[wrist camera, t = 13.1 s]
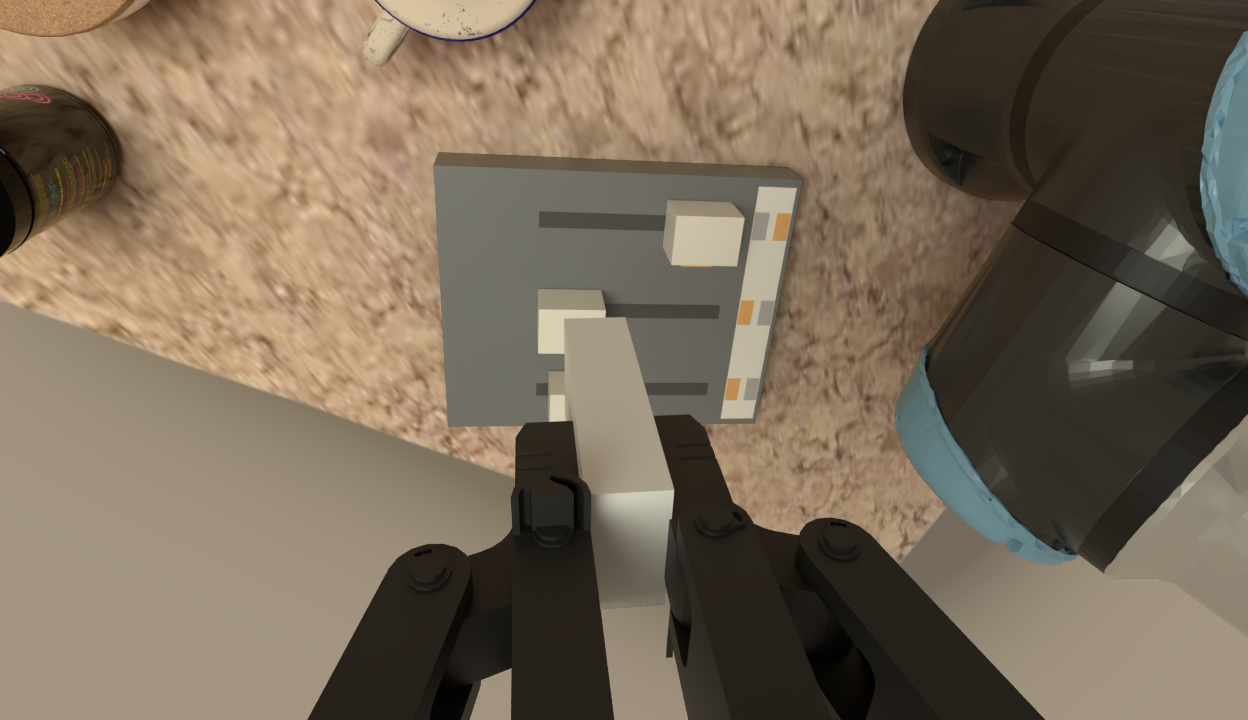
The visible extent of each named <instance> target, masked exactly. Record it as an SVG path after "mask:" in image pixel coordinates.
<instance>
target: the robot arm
mask: <svg viewBox="0 0 1248 720" xmlns="http://www.w3.org/2000/svg"><path fill="white" fill-rule="evenodd" d="M903 105H904V117H905V124H906V128H907V132H908V135H909V139H910V141H911V144H912V146H913V148H914V150H915V152H916V154H917V155H918V157H919V158H920V160H921V161H922V162H923V164H924V165H925V166H926V167H927V168H928V169H929V170H930V171H931V172H932V173H933V174H934V175H935V176H937V177H938V178H940V179H941V180H943V181H944V182H946V183H948V184H950V185H952V186H954V187H955V188H957V189H959V190H961V191H963V192H965V193H967V194H970V195H973V196H976V197H980V198H984V199H990V200H999V201H1019V200H1026V202H1025V203H1024V205H1023V206H1022V208H1021V209H1020V211H1019V212H1018V214H1017V216H1016V217H1015V219H1014V220H1013V221H1012V223H1010V225H1009V226H1008V228H1007V229H1006V231H1005V232H1004V234H1003V235H1002V237H1001V238H1000V240H999V241H998V243H997V244H996V246H995V247H994V249H993V250H992V252H991V253H990V255H989V257H988V258H987V260H986V261H985V263H984V264H983V266H982V267H981V269H980V270H979V272H978V273H977V275H976V276H975V278H974V279H973V281H972V282H971V284H970V285H969V287H968V288H967V290H966V291H965V293H964V294H963V296H962V298H961V299H960V300H959V302H958V303H957V305H956V306H955V308H954V309H953V311H952V312H951V314H950V315H949V316H948V318H947V319H946V321H945V322H944V324H943V325H942V327H941V328H940V329H939V331H938V332H937V334H936V335H935V337H934V338H933V339H931V340H930V341H929V342H928V343H927V344H926V345H925V346H924V348H923V349H922V351H921V354H920V357H919V362H918V364H917V366H916V368H915V370H914V372H913V373H912V375H911V377H910V378H909V380H908V382H907V383H906V385H905V387H904V388H903V390H902V392H901V393H900V395H899V397H898V400H897V403H896V407H895V423H896V429H897V431H898V433H899V440H900V443H901V445H902V447H903V449H904V451H905V453H906V455H907V457H908V459H909V460H910V462H911V463H912V465H913V466H914V468H915V469H916V471H917V472H918V474H919V475H920V476H921V477H922V479H923V480H924V481H925V482H926V484H927V485H928V486H929V487H930V488H931V489H932V491H933V492H934V493H935V494H936V495H937V496H938V497H939V498H940V499H941V500H942V501H943V502H944V503H945V504H946V505H947V506H948V507H949V508H950V509H951V510H952V511H953V512H954V513H955V514H957V515H958V516H959V517H960V518H961V519H962V520H963V521H965V522H966V523H967V524H968V525H969V526H971V527H972V528H973V529H975V530H976V531H977V532H979V533H980V534H981V535H983V536H985V537H986V538H987V539H989V540H991V541H992V542H994V543H1000V542H1002V543H1003V544H1004V545H1005V546H1006V547H1007V548H1008V549H1009V550H1010V551H1011V552H1012V553H1013V554H1014V555H1017V556H1018V557H1021V558H1023V559H1025V560H1028V561H1031V562H1034V563H1038V564H1045V565H1058V564H1062V563H1064V562H1066V561H1072V560H1074V559H1076V558H1078V557H1079V556H1082V557H1083V558H1084V559H1086V560H1087V561H1088V562H1089V563H1091V564H1092V565H1093V566H1095V567H1096V568H1097V569H1099V570H1100V571H1101V572H1103V573H1104V574H1105V575H1107V576H1109V577H1110V578H1112V579H1159V580H1162V581H1167V582H1171V583H1174V584H1175V585H1177V586H1178V587H1179V588H1181V589H1182V590H1183V591H1185V592H1186V593H1188V594H1189V595H1190V596H1192V597H1193V598H1194V599H1196V600H1197V601H1198V602H1200V603H1201V604H1203V605H1204V606H1205V607H1207V608H1208V609H1210V610H1211V611H1212V612H1214V613H1215V614H1216V615H1218V616H1219V617H1221V618H1222V619H1223V620H1225V621H1226V622H1227V623H1229V624H1230V625H1231V626H1233V627H1234V628H1236V629H1237V630H1238V631H1240V632H1241V633H1242V634H1244V635H1245V636H1247V637H1248V0H940V1H939V2H938V4H937V5H936V7H935V8H934V9H933V11H932V13H931V14H930V16H929V17H928V19H927V21H926V23H925V24H924V26H923V28H922V30H921V32H920V34H919V36H918V39H917V41H916V43H915V46H914V48H913V51H912V54H911V57H910V61H909V64H908V68H907V73H906V78H905V85H904V101H903ZM564 361H565V418H566V421H555V422H531V423H525V425H524V426H523V428H522V429H521V430H520V432H519V433H518V435H517V436H516V457H515V487H514V489H513V493H512V496H511V510H512V529H511V531H510V533H509V534H508V535H507V536H506V537H505V538H504V539H503V540H502V541H501V542H500V543H498V544H496V545H495V546H493V547H491V548H489V549H487V550H484V551H482V552H479V553H476V554H472V555H469V556H467V555H466V554H465V553H463V552H462V551H461V550H459V549H458V548H456V547H453V546H449V545H446V544H426V545H423V546H420V547H417V548H413V549H411V550H409V551H408V552H406V553H404V554H403V555H401V556H400V557H398V558H397V559H396V561H395V562H394V563H393V564H392V565H391V567H390V568H389V569H388V571H387V573H386V575H385V577H384V579H383V580H382V582H381V584H380V586H379V588H378V590H377V592H376V593H375V595H374V597H373V599H372V601H371V603H370V605H369V607H368V608H367V610H366V612H365V614H364V616H363V618H362V619H361V621H360V623H359V625H358V627H357V629H356V631H355V633H354V634H353V636H352V638H351V640H350V642H349V644H348V646H347V647H346V649H345V651H344V653H343V655H342V657H341V659H340V660H339V662H338V664H337V666H336V668H335V670H334V671H333V673H332V675H331V677H330V679H329V681H328V683H327V685H326V687H325V688H324V690H323V692H322V694H321V696H320V698H319V699H318V701H317V703H316V705H315V707H314V709H313V710H312V712H311V714H310V716H309V718H308V720H470V716H471V714H472V710H473V707H474V704H475V701H476V698H477V695H478V692H479V689H480V685H481V680H482V679H485V678H487V677H490V676H492V675H495V674H498V673H500V672H503V671H505V670H508V669H510V668H512V684H511V686H512V688H511V689H512V690H511V697H512V698H511V720H614V714H613V706H612V698H611V690H610V682H609V674H608V666H607V658H606V650H605V642H604V634H603V625H602V617H601V610H602V609H615V608H628V607H642V606H655V605H664V602H665V590H666V588H667V593H668V597H669V602H670V616H669V627H668V638H667V652H666V657H672V655H673V650H674V655H675V659H676V664H677V669H678V673H679V677H680V683H681V687H682V691H683V697H684V701H685V706H686V711H687V715H688V720H1045V719H1044V718H1043V717H1042V716H1041V715H1040V714H1039V713H1038V712H1037V711H1036V710H1035V709H1034V707H1033V706H1032V705H1031V704H1030V703H1029V702H1028V701H1027V700H1026V699H1025V698H1024V697H1023V696H1022V695H1021V694H1020V693H1019V692H1018V691H1017V689H1016V688H1015V687H1014V686H1013V685H1012V684H1011V683H1010V682H1009V681H1008V680H1007V679H1006V678H1005V677H1004V676H1003V675H1002V674H1001V673H1000V671H999V670H998V669H997V668H996V667H995V666H994V665H993V664H992V663H991V662H990V661H989V660H988V659H987V658H986V657H985V656H984V655H983V653H982V652H981V651H980V650H979V649H978V648H977V647H976V646H975V645H974V644H973V643H972V642H971V641H970V640H969V639H968V638H967V637H966V635H965V634H964V633H963V632H962V631H961V630H960V629H959V628H958V627H957V626H956V625H955V624H954V623H953V622H952V621H951V620H950V619H949V617H948V616H946V614H945V613H944V612H943V611H942V610H941V609H940V608H939V607H938V606H937V605H936V604H935V603H934V602H933V601H932V599H931V598H930V597H929V596H928V595H927V594H926V593H925V592H924V591H923V590H922V589H921V588H920V587H919V586H918V585H917V584H916V583H915V581H914V580H913V579H912V578H911V577H910V576H909V575H908V574H907V573H906V572H905V571H904V570H903V569H902V568H901V567H900V566H899V565H898V563H897V562H896V561H895V560H894V559H893V558H892V557H891V556H890V555H889V554H888V553H887V552H886V551H885V550H884V549H883V548H882V547H881V545H880V544H879V543H878V542H877V541H876V540H875V539H874V538H873V537H872V536H871V535H870V534H869V533H867V532H866V531H865V530H864V529H862V528H861V527H860V526H858V525H855V524H853V523H851V522H848V521H846V520H842V519H836V518H820V519H815V520H813V521H811V522H809V523H807V524H806V525H805V526H804V527H803V529H802V530H801V531H800V535H793V534H788V533H782V532H777V531H772V530H769V529H765V528H762V527H760V526H758V525H755V524H754V523H753V521H752V519H751V518H750V516H749V515H748V514H747V512H746V511H745V510H744V509H742V508H741V507H739V506H738V505H736V504H735V503H733V501H732V498H731V496H730V493H729V490H728V488H727V485H726V482H725V480H724V477H723V475H722V472H721V469H720V467H719V464H718V462H717V459H715V454H714V451H713V449H712V446H710V441H709V438H708V436H707V433H706V430H705V428H704V427H703V426H702V425H701V424H700V423H699V422H698V421H697V420H696V419H694V418H693V417H692V416H691V415H690V414H684V415H660V416H653V413H652V410H651V406H650V403H649V399H648V396H647V392H646V389H645V385H644V382H643V378H642V375H641V371H640V367H639V364H638V360H637V357H636V353H635V350H634V346H633V343H632V339H631V336H630V332H629V329H628V325H627V322H626V318H625V317H609V318H568V319H564Z"/></svg>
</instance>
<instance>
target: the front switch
mask: <svg viewBox="0 0 1248 720" xmlns="http://www.w3.org/2000/svg"><path fill="white" fill-rule="evenodd" d="M744 219H745V218H744V216H743V215H742V214H741V213H740V212H739V210H738V209H737V208H736V207H735V206H734V204H733V203H732V202H714V201H686V200H667V209H666V219H665V229H664V238H663V249H664V251H665V253H666V255H667V257H668V259H669V261H670V263H671V265H695V266H737V263H738V257H739V250H740V244H741V238H742V232H743V225H744Z"/></svg>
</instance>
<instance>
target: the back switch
mask: <svg viewBox="0 0 1248 720" xmlns="http://www.w3.org/2000/svg"><path fill="white" fill-rule="evenodd" d="M555 421H566V418H565V371H549V375H548V422H555Z"/></svg>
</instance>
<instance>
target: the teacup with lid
mask: <svg viewBox="0 0 1248 720" xmlns="http://www.w3.org/2000/svg"><path fill="white" fill-rule="evenodd" d="M375 1H376V2H377V3H378V4H379V5H380V6H381V7H382V8H383V10H382V11H381V13H380V15H379V16H378V18H377V20H376V21H375V23H374V25H373V26H372V28H371V30H370V31H369V33H368V35H367V37H366V39H365V41H364V43H363V46H362V55H363V56H364V58H365V59H366V60H368V61H369V62H370V63H372V64H373V65H375V66H377V67H381V66H384V65H385V64H386V63H387V62H388V61H389V60H390V59H391V58H392V56H393V55H394V54H395V53H396V51H397V50H398V48H399V47H400V46H401V44H402V43H403V41H404V40H405V39H406V37H407V36H408V34H409V33H410V31H411V30H414V31H416V32H418V33H420V34H423V35H426V36H429V37H432V38H436V39H440V40H445V41H456V42H464V41H474V40H480V39H484V38H487V37H490V36H493V35H495V34H498V33H500V32H502V31H503V30H505V29H507V28H509V27H510V26H512V25H513V24H514V23H516V22H517V21H518V20H519V19H520V18H522V17H523V16H524V15H525V13H526V12H527V11H528V10H529V9H530V8H531V7H532V5H533V4H534V3H535V1H536V0H375Z"/></svg>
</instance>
